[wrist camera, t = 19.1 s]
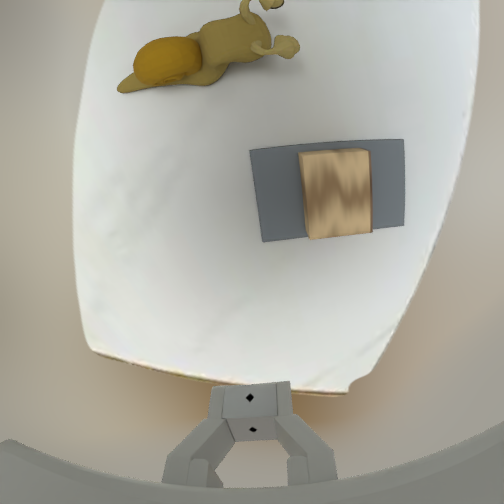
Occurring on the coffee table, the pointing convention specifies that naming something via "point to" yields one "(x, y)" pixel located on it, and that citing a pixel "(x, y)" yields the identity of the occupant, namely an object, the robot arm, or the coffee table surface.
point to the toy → (207, 51)
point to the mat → (290, 188)
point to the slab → (337, 192)
